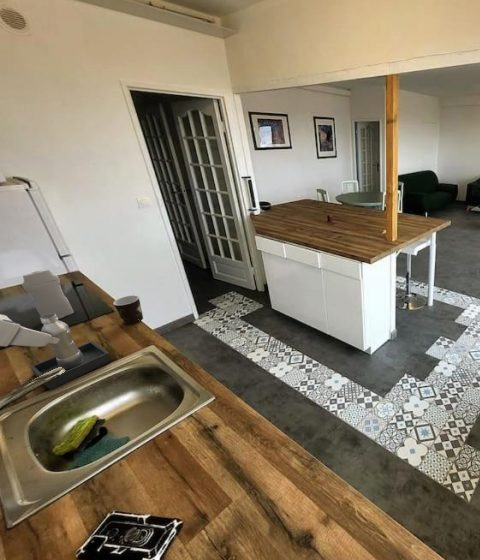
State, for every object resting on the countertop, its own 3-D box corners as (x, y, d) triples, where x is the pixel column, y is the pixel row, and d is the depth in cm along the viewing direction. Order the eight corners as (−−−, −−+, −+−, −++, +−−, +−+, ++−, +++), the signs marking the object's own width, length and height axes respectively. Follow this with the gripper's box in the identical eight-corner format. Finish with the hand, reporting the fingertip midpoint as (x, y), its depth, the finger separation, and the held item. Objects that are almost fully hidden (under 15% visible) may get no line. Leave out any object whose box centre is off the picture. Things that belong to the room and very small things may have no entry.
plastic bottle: (85, 356, 112) (61, 308, 103) (87, 365, 107) (62, 316, 99) (60, 364, 107) (33, 315, 99) (61, 374, 103) (33, 324, 95)
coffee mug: (134, 314, 140) (126, 294, 135) (151, 315, 139) (144, 296, 134) (109, 328, 129) (100, 308, 125) (127, 330, 128) (119, 309, 124)
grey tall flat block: (73, 310, 141) (52, 266, 132) (76, 313, 139) (54, 268, 130) (40, 320, 133) (15, 274, 124) (43, 323, 131) (18, 277, 122)
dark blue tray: (50, 390, 98) (45, 381, 97) (34, 374, 104) (29, 366, 103) (112, 360, 111) (109, 352, 110) (95, 348, 117) (92, 340, 116)
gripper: (-42, 332, 89) (20, 341, 101) (3, 347, 83) (62, 354, 96) (-27, 311, 91) (31, 322, 103) (17, 324, 85) (74, 334, 98)
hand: (47, 337), depth 100 cm, fingers open, 8 cm apart
